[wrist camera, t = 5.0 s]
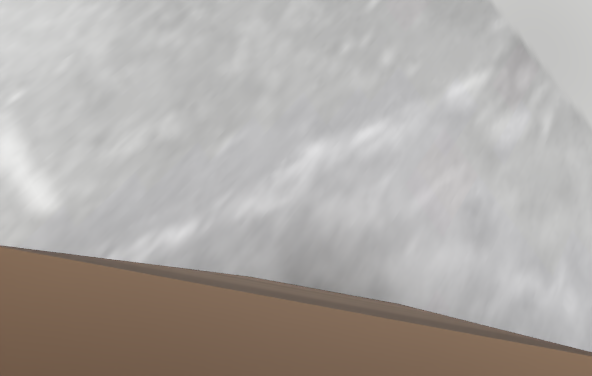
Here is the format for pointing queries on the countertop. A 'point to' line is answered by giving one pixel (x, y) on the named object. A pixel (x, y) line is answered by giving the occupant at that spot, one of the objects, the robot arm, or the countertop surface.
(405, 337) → the column
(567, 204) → the countertop surface
